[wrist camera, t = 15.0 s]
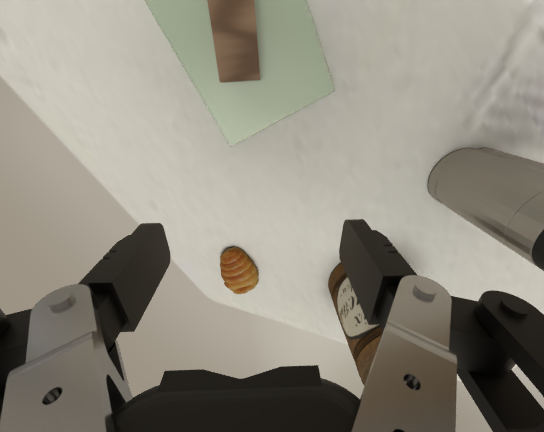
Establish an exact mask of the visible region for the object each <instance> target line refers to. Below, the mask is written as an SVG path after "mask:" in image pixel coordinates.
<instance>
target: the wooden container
mask: <svg viewBox="0 0 544 432" xmlns="http://www.w3.org/2000/svg"><path fill="white" fill-rule="evenodd" d="M329 290H330V294H331V297H332V300H333V303H334V306H335V309H336V312H337V315H338V318H339V321H340V324H341V326H342V329H343V331H344V334H345V337H346V339H347V342H348V345H349V348H350V350H351V353H352V356H353V358H354V360H355V363H356V366H357V370H358V372H359V375H360V377H361V380H362V383H363V384H364V386H365V383H366V380H367V377H368V374H369V371H370V368H371V365H372V362H373V359H374V356H375V353H376V350H377V347H378V344H379V341H380V338H381V335H382V332H383V329H382V327H381V325H368V322H367V320H366V318H365V315H364V313H363V311H362V309H361V306H360V304H359V302H358V300H357V297H356V295H355V293H354V290H353V288H352V286H351V284H350V281H349V279H348V277H347V275H346V272H345V270H344V268H343V265H342V263H340V264H339V265H338V266H337V267H336V268H335V269H334V271H333V272H332V274H331V276H330V279H329Z"/></svg>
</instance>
